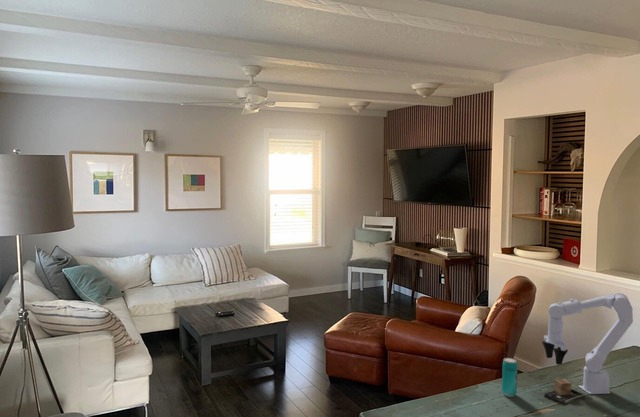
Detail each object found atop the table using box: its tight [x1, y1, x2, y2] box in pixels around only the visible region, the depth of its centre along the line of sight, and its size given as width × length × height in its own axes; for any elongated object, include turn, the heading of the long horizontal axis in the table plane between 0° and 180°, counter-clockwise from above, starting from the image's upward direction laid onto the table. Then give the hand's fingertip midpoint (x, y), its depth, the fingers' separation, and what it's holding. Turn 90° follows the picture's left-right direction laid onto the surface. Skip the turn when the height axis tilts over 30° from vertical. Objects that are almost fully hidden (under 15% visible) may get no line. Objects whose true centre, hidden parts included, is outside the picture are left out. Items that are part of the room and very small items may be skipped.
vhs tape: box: [544, 388, 584, 405], centre depth 208 cm, size 14×8×2 cm, turn 119°
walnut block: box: [554, 378, 572, 395], centre depth 209 cm, size 4×4×5 cm
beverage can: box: [501, 357, 518, 398], centre depth 210 cm, size 6×6×15 cm
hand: (554, 360), depth 221 cm, fingers open, 7 cm apart
